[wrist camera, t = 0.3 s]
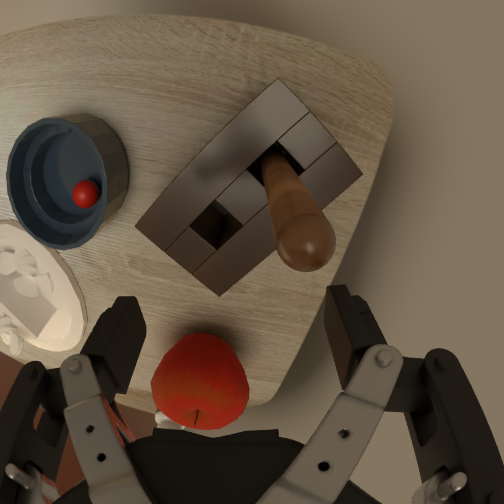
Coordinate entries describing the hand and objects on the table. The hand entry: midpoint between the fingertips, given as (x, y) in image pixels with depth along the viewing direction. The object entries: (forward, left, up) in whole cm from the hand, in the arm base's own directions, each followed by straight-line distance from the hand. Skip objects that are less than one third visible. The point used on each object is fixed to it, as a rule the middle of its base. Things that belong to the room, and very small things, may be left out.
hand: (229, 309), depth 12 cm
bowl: (-15, -12, -21) cm, 29 cm away
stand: (0, +1, -21) cm, 21 cm away
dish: (-14, -36, -21) cm, 44 cm away
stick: (0, +4, -10) cm, 11 cm away
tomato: (-12, -12, -19) cm, 25 cm away
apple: (+13, -20, -21) cm, 32 cm away
